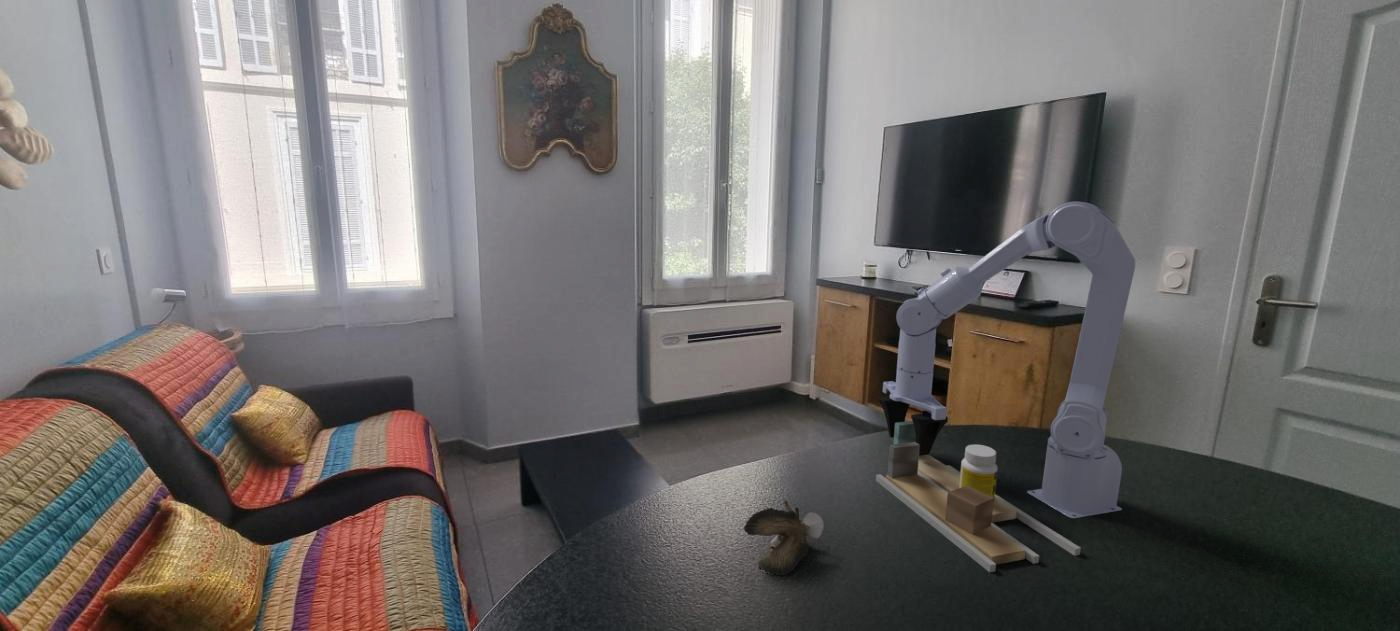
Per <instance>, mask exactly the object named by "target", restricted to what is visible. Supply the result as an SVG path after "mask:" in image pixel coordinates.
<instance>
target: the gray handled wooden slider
mask: <svg viewBox="0 0 1400 631" xmlns="http://www.w3.org/2000/svg"><path fill="white" fill-rule="evenodd" d="M919 450H920V445H919V444H918V443H916V442H910V443H901V444H894V443H893V444H889V446H888V458H887V471H886V472H887V474H886V475H885V478H886V479H887V480H889V481H890V482H891V483H893V484H894V485H895V486H896V487H898V488H899V489H900V490H902V491H903V492H904V493H905V494H907V495H908V496H909V497H911V498H912V499H913V500H914V501H916V502H917V503H918V504H920V505H921V506H922V507H923V508H925V509H926V510H927V511H929V512H930V513H931V514H932V515H934V516H935V517H936V518H938V519H939V520H940V521H941V522H943V523H944V524H945V525H946V526H948V527H949V528H950V529H952V530H953V531H954V532H955V533H957V534H958V535H959V536H961V537H962V538H963V539H964V540H966V541H967V542H968V543H970V544H971V545H972V546H973V547H975V548H976V549H977V550H979V551H980V552H981V553H982V554H984V555H985V556H986V557H988V558H989V559H990V560H991V561H993V562H994V563H995V564H996V565H1001V564H1007V563H1011V562H1012V563H1013V562H1016V561H1021V560H1026V558H1025V552H1026V550H1025V549H1023V548H1022V547H1020V546H1019V545H1018V544H1016V543H1015V542H1013V541H1012V540H1010V539H1009V538H1008V537H1006V536H1005V535H1003V534H1002V533H1001V532H999V531H998V530H996V529H995V528H993V527H992V526H990V527H988V528H986V529H984V530H981V531H979V532H977V533H975V534H973V535H972V534H970V533H968V532H966V531H965V530H963V529H961V528H959V527H957V526H955V525H953V524H951V523H950V522H948V521H946V520H945V516H946V505H947V495H946V494H945V493H944V492H942V491H941V490H939V489H938V488H937V487H935V486H934V485H932V484H931V483H929V482H928V481H927V480H925V479H924V478H922V477H921V476H919V475H918V474H917V473H918V461H919Z"/></svg>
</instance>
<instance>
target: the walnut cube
mask: <svg viewBox="0 0 1400 631" xmlns="http://www.w3.org/2000/svg"><path fill="white" fill-rule="evenodd" d="M993 505H994V498H993V497H991V496H989V495H986V494H984V493H982V492H980V491H978V490H976V489H973V488H971V487H969V486H967V485H966V486H964V487H961V488H958V489H956V490H953V491H950V492H948V495H947V505H946V516H945V520H946V521H948V522H950V523H951V524H953V525H955V526H957V527H959V528H961V529H963V530H965V531H966V532H968V533H970V534H972V535H973V534H975V533H977V532H979V531H981V530H984V529H986V528H988V527H990V526H991V523H992V514H993Z"/></svg>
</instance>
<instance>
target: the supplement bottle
mask: <svg viewBox="0 0 1400 631" xmlns="http://www.w3.org/2000/svg"><path fill="white" fill-rule="evenodd" d="M996 461H997V451H996V450H995V449H993V448H992V447H990V446H987V445H982V444H968V445H967V446H965V450H964V457H963V458H962V460H961V462H960V463H961V464H960V471H959V472H960V483H959V488H961V487H964V486H966V485H967V486H969V487H971V488H973V489H976V490H978V491H980V492H982V493H984V494H986V495H989V496H991V497H993V498H994V501H995V494H996V490H997V489H996V488H997V479H998V478H997V477H998V469H999V468H998V466H997V464H996Z"/></svg>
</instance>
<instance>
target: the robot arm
mask: <svg viewBox="0 0 1400 631" xmlns="http://www.w3.org/2000/svg"><path fill="white" fill-rule="evenodd" d="M1055 247H1058V248H1060V249H1061V250H1064V251H1066V252H1068V253H1070V254H1072V255H1074V256H1075V257H1076V258H1077V259H1078V260H1079V261H1080V262H1081V264H1083V265H1084V266H1085V267H1086V269H1088V271H1089V272H1091V274H1092V276H1091V282H1090V286H1089V291H1088V296H1087V301H1086V306H1085V310H1084V314H1083V318H1082V323H1081V327H1080V332H1079V337H1078V342H1077V346H1076V351H1075V356H1074V360H1073V364H1072V369H1071V370H1072V371H1071V375H1070V379H1069V384H1068V387H1067V392H1066V394H1065V395H1066V396H1065V398H1064V400H1063V401H1062V402H1061V403H1060V405H1059V406H1058V408H1057V414H1056V416H1055V417H1054V419H1053V420H1052V423H1051V425H1050V436H1049V437H1048V438H1047V446H1046V453H1045V460H1044V463H1045V464H1044V469H1043V477H1042V484H1041V488H1039V489H1032V490H1027V492H1026V493H1027V494H1029V495H1031V496H1032V497H1034V498H1036V499H1037V500H1039V501H1041V502H1043V503H1045V504H1046V505H1048V506H1049V507H1051V508H1053V509H1054V510H1056V511H1058V512H1060V513H1061V514H1063V515H1065V516H1067V517H1068V518H1070V519H1077V518H1083V517H1089V516H1094V515H1095V516H1096V515H1100V514H1106V513H1111V512H1117V511H1122V510H1123V508H1121V507H1120V506H1118V498H1119V493H1120V492H1119V491H1120V485H1121V479H1122V478H1121V477H1122V473H1123V466H1122V462H1121V460H1120V457H1119V455H1118V454H1117V453H1116V451H1114V450H1113V449H1112V448H1111V447H1109V446H1108V445H1106V444H1104V443H1105V441H1106V440H1105V439H1106V428H1107V426H1108V422H1109V415H1108V412H1107V410H1106V407H1105V400H1106V396H1107V391H1108V387H1109V382H1110V379H1111V378H1110V377H1111V373H1112V371H1113V370H1112V369H1113V366H1114V365H1113V364H1114V362H1115V356H1116V352H1117V349H1118V345H1119V344H1118V342H1119V340H1120V336H1121V330H1122V326H1123V321H1124V318H1125V313H1126V309H1127V305H1128V304H1127V303H1128V300H1129V296H1130V293H1131V292H1130V291H1131V289H1132V288H1131V287H1132V283H1133V279H1134V275H1135V271H1136V270H1135V269H1136V259H1135V257H1134V255H1133V253H1132V252H1131V249H1130V248H1129V246H1128V244H1127V242H1126V240H1125V239H1124V236H1122V234H1121V232H1120V230H1119V228H1118V227H1117V226H1116V223H1115V221H1114V220H1113V218H1112V217H1111V216H1109V215H1108V214H1107V213H1106V212H1104V211H1103V210H1102V209H1100V207H1098V206H1096V205H1095V204H1092V203H1089V202H1084V201H1069V202H1066V203H1063V204H1061V205H1058V206H1057V207H1056V208H1055V209H1054V210H1052V212H1050V213H1048V214H1044V215H1043V216H1040V217H1038V218H1037V219H1034V220H1033V221H1031V222H1029V223H1028V224H1026V225H1024V226H1023V227H1021V228H1020V229H1018V230H1017V231H1016V232H1015V233H1013V234H1012V235H1011V236H1009V237H1007V239H1005V240H1004V241H1002V242H1001V243H1000V244H998V245H997V246H996V247H994V248H993V249H992V250H991V251H989V252H988V253H987V254H985V255H984V256H983V257H981V258H980V259H979V260H978V261H976V262H975V263H973V264H972V265H971V266H970V267H963V266H955V267H954V268H952V269H950V268H945V270H943V271H942V272H941V273H940V275H941V277H940V278H939V279H938V280H935V282H933V283H932V284H930V285H929V286H927V287H926V288H920V289H918V290H917V291H916V294H917V297H914V298H910V299H907V300H906V299H905V300H904V301H903V303H902V304H901V305H900V306H899V307H898V310H897V311H896V315H895V316H896V317H895V319H896V323H897V326H898V327H899V329H900V330H899V340H898V349H897V361H896V362H897V363H896V377H895V381H893V380H891V381H883V383H882V393H884V394H885V396H879V398H878V402H879V403H880V406H881V408H882V410H883V412H884V415H885V422H886V425H887V429H888V430H887V431H888V436H889V438H891V439H894V431H895V423H898V422H906V417H907V413H908V410H909V408H910V406H911V407H914V408H915V409H917V410H919V411H921V412H922V413H915V414H914V413H913V414H911V416H910V418H911V421H913V424H914V428H915V435H916V443H918V444H919V445H920V450H919V456H922V455H930V453H931V450H932V448H933V445H934V443H935V441H936V439H937V437H938V435H939V434H940V432H941V430H942V429H943V428H944V426H945V425H946V424H947V423H948V422H949V421H948V420H949V418H948V416H947V410H948V409H947V408H948V407H946V406H944V405H942V404H941V403H940V402H939V401H938V400H937V399H936V398H935V397H934V396H933V395H932V389H933V378H934V366H935V356H936V355H935V353H936V336H937V328H938V326H939V325H940V324H941V323H942V320H946V319H948V318H950V317H952V316H953V315H954V314H955V313H957V312H958V311H960V310H961V309H963V308H964V307H966V306H967V305H969V304H970V303H972V302H974V301H975V300H977V298H979V297H980V296H981V295H982V290H983V285H984V283H986V282H987V281H989V280H990V279H991V278H993V277H995V276H996V275H999V273H1001V272H1002V271H1004V270H1006V269H1007V268H1009V267H1010V266H1012V265H1013V264H1015V263H1016V262H1018V261H1019V260H1021V259H1023V258H1024V257H1026V256H1027V255H1029V254H1031V253H1035V252H1036V253H1037V252H1041V251H1046V250H1047V251H1048V250H1051V249H1054V248H1055Z"/></svg>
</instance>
